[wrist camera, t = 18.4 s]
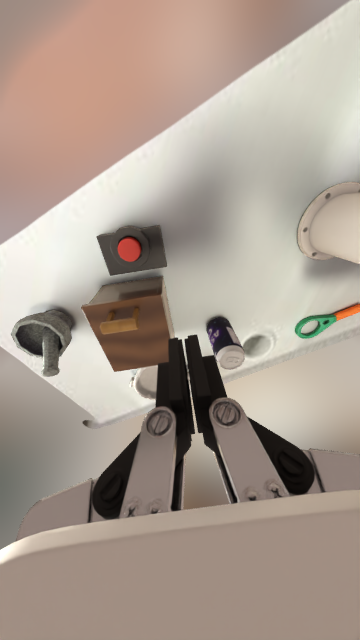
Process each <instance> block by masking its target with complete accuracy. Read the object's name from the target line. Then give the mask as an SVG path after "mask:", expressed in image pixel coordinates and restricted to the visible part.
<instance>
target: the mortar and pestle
mask: <svg viewBox="0 0 360 640" xmlns="http://www.w3.org/2000/svg"><path fill="white" fill-rule="evenodd" d="M71 326H72V325H71V321H70V318H69V317H67V316H66V315H65V314H64V313H63V312H59V311H56V310H50V311H47V312H44V313H38V314H34V315H30V316H27V317H25V318H23V319H21V320H19V321H18V322H17V323H16V324H15V326H14V328H13V330H12V333H11V336H12V338H13V340H14V342H15V344H16V346H17V347H18V348H20V349H21V350H23V351H24V352H26V353H27V354H29V355H30V356H33V357H38V358H43V370H42V373H41V374H42V375H43V376H47V377H50V376H54V375H57V374H58V373H59V368H58V361H59V357H60V356H61V355H62V354H63V352H64V351H65V349H66V348H67V346H68V345H69V343H70V341H71V339H72V338H71V332H70V328H71Z"/></svg>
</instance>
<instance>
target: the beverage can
mask: <svg viewBox="0 0 360 640" xmlns="http://www.w3.org/2000/svg"><path fill="white" fill-rule="evenodd" d="M207 333H208V336H209V339H210V342H211V346H212V349H213V352H214V355H215V358H216V361H217V362H218V363H219V364H220V366H221V367H222V368H224V369H235V368H237V367H239V366H241V365H242V364H243V362H244V360H245V356H244V349H243V348H242V346H241V344H240V342H239V340H238V338H237V336H236V334H235V332H234V330H233V328H232V326H231V325H230V323H229V321H228V320H227V319H225V318H222V317H218V318H214V319H212V320H211V321H210V322H209V323H208V325H207Z"/></svg>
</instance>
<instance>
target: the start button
mask: <svg viewBox="0 0 360 640" xmlns="http://www.w3.org/2000/svg"><path fill="white" fill-rule="evenodd" d="M118 253H119V255H120V257H121V258H122V259H124V260H125V261H129V262H132V261H135V260H137V259H138V257H139V256H140V253H141V245H140V243H139V242H138V241H137V240H136V239H135V238H132V237H126V238H124V239H123V240H122V241H121V242H120V243H119V245H118Z"/></svg>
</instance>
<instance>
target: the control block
mask: <svg viewBox="0 0 360 640" xmlns="http://www.w3.org/2000/svg"><path fill="white" fill-rule="evenodd" d="M126 237H132V238H135V239H136V240H137V241H138V242H139V243H140V245H141V253H140V256H139V257H138V259H137V260H135V261H132V262H129V261H125V260H124V259H122V258H121V257H120V255H119V253H118V245H119V243H120V242H121V241H122V240H123V239H124V238H126ZM97 239H98V242H99V245H100V248H101V251H102V254H103V256H104V259H105V262H106V265H107V268H108V271H109V273H110V276H112V275H118V274H124V273H130V272H137V271H143V270H149V269H155V268H162V267H167V262H166V257H165V251H164V245H163V240H162V234H161V229H160V225H158V226H152V227H146V228H140V229H138V228H136V227H133V226H128V227H122V228H120V229H119V230H118V231H117V232H116V233H110V234H104V235H99V236H97Z"/></svg>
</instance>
